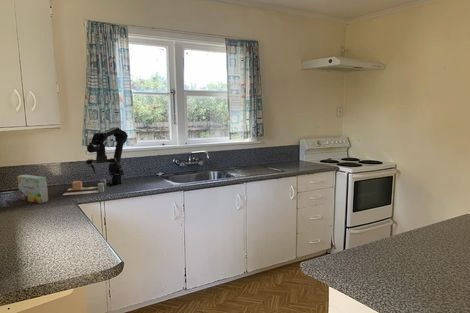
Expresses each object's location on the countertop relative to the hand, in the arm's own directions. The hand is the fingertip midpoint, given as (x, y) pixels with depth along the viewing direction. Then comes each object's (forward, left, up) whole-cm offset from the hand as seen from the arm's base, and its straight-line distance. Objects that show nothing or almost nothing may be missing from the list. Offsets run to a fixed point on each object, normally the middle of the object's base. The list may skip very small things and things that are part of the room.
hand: (102, 173), depth 228 cm
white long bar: (+11, +13, -10) cm, 20 cm away
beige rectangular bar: (+11, 0, -10) cm, 15 cm away
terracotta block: (+17, 0, -10) cm, 19 cm away
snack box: (+37, +21, -11) cm, 44 cm away
